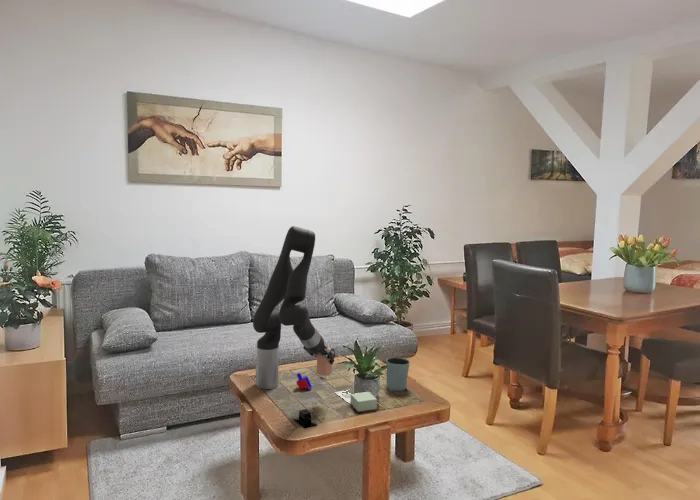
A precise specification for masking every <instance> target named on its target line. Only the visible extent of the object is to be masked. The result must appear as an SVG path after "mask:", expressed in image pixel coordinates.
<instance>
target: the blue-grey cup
mask: <svg viewBox="0 0 700 500" xmlns="http://www.w3.org/2000/svg"><path fill="white" fill-rule="evenodd" d="M385 363H386V366H387V370H386V371H385V372H386V373H385V374H386V388H387V389H388V390H390V391H396V392H401V391H402V392H403V391H404V390H406V389H407V385H408V384H407V382H408V376H409V375H408V374H409V369H410V368H409V367H410V360H409V359H407V358H405V357H400V356H399V357H398V356H393V357H391V356H390V357H387V358H386V360H385Z"/></svg>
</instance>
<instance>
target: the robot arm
mask: <svg viewBox="0 0 700 500" xmlns="http://www.w3.org/2000/svg"><path fill="white" fill-rule="evenodd" d="M315 243H316V234H315V232H314V231H312V230H310V229H306V228H303V227H299V226H295V225H294V226H291V227H289V228H288V230H287V232H286V235H285V238H284V241H283V244H282V248H281V252H280V254H279V257H278V259H277V262H276V265H275V267H274V269H273V272H272V274H271V277H270V279H269V282H268V285H267V288H266V290H265V292H264V295H263V297H262V300H261V301H260V303H259V305H258V307H257V309H256V311H255V313H254V316H253V317H252V318H253V319H252V326H253V330H255V332H257V333H259V334H263V335H262V336H261V337H260V338H259V339H257V341H256V362H255V385H256V387H257V389H259V390H261V389H262V390H269V389H270V390H272V389H275V388H277V387H278V386H279V358H280V357H279V355H280V352H279V351H280V349H279V348H280V345H279V344H280V342H281V334H282V331H281V330H282V326H287V327H288V326H289V327H290V326H292V329H293V332H294V333H295V335H296V337H297V338H298V339H299V341H300V343H301V344H302V345H303V347H302V348H303V350H305V352H306V353H308V355H310V356H311V357H312V356H314V357H315V358H317V354H319V355H321V356H322V357H323V358H326V359H327V360H328V361H329V363H330V364H332V365H334V362H335V358H336V351H335V349H334V348H331V350H329V349H328V348H329V347H327V346H326V345H325V339H324V338H323V336H322V335H321V334H320V332H319V331H318V329H317V328H316V327H315V326H314V325H313V324H312V322H311V319H310V315H309V314H310V313H309V310H308V308H307V307H306V306H305V305H302V304H298V303H301V302H303V301H304V300H305V298H306V293H307V292H306V291H307V282H308V276H309V272H310V271H309V270H310V266H311V263H312V258H313V255H314V254H313V253H314V250H315V245H316V244H315ZM291 251H294V252H298V253H302V254H303V257H302V259H301V261H300V262H299V264H297V265H296V267H294V268H293V266H292V262H291ZM281 302H282V304H281V306H280V309H279V310H277V309H275V308H277V306H278V305H279V304H280V303H281ZM328 355H329V356H328Z"/></svg>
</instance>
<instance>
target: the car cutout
mask: <svg viewBox="0 0 700 500" xmlns="http://www.w3.org/2000/svg"><path fill="white" fill-rule="evenodd" d="M327 376H331V374H329V375H327ZM327 376H323V375H320V374H319V378H320V377H322V378H321V379H327Z"/></svg>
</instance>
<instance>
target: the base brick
mask: <svg viewBox="0 0 700 500" xmlns="http://www.w3.org/2000/svg"><path fill="white" fill-rule="evenodd" d="M349 404H350V405H351V404H352V405H353V406H352V405H351V406H352V407H353V408H354V409H355V410H356V411H357V412H364V411H371V410H373V411H374V410H377V409H378V399H377V398H376V396H374V394H373V393H372V392H370V391H365V392H364V391H363V392H358V393H355V394H351V399H350V403H349Z"/></svg>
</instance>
